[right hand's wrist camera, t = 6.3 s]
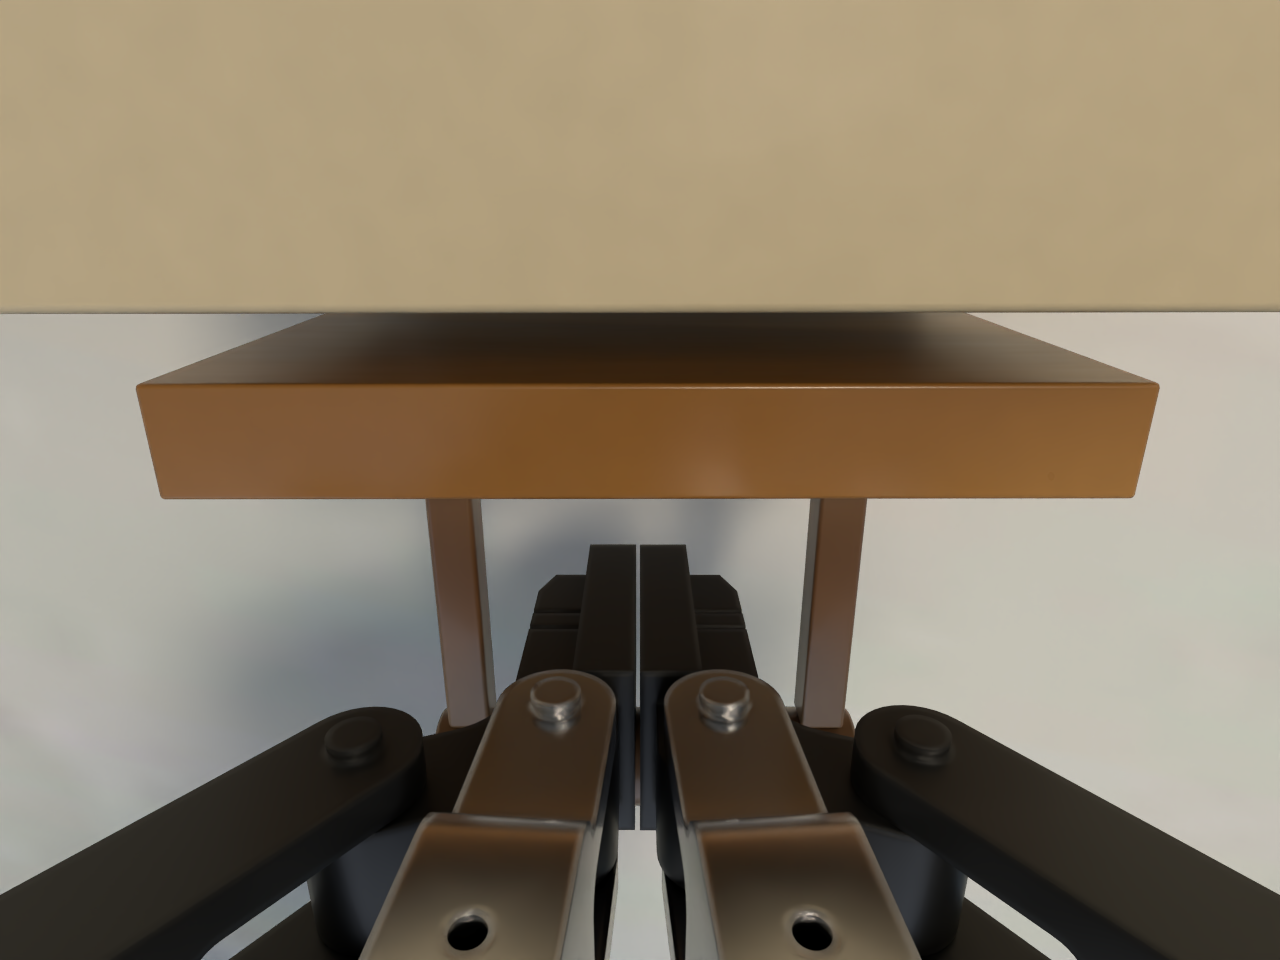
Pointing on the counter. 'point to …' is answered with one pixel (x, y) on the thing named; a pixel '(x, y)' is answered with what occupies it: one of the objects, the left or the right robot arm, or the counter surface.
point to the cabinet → (639, 156)
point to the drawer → (647, 436)
